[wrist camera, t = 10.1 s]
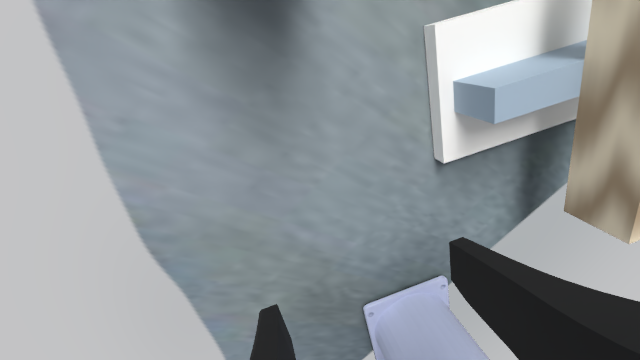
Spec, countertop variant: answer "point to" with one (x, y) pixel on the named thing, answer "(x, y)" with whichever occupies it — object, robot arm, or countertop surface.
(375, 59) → the countertop surface
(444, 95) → the ridge stand
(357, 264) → the countertop surface
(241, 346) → the countertop surface
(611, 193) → the beam
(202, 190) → the countertop surface
